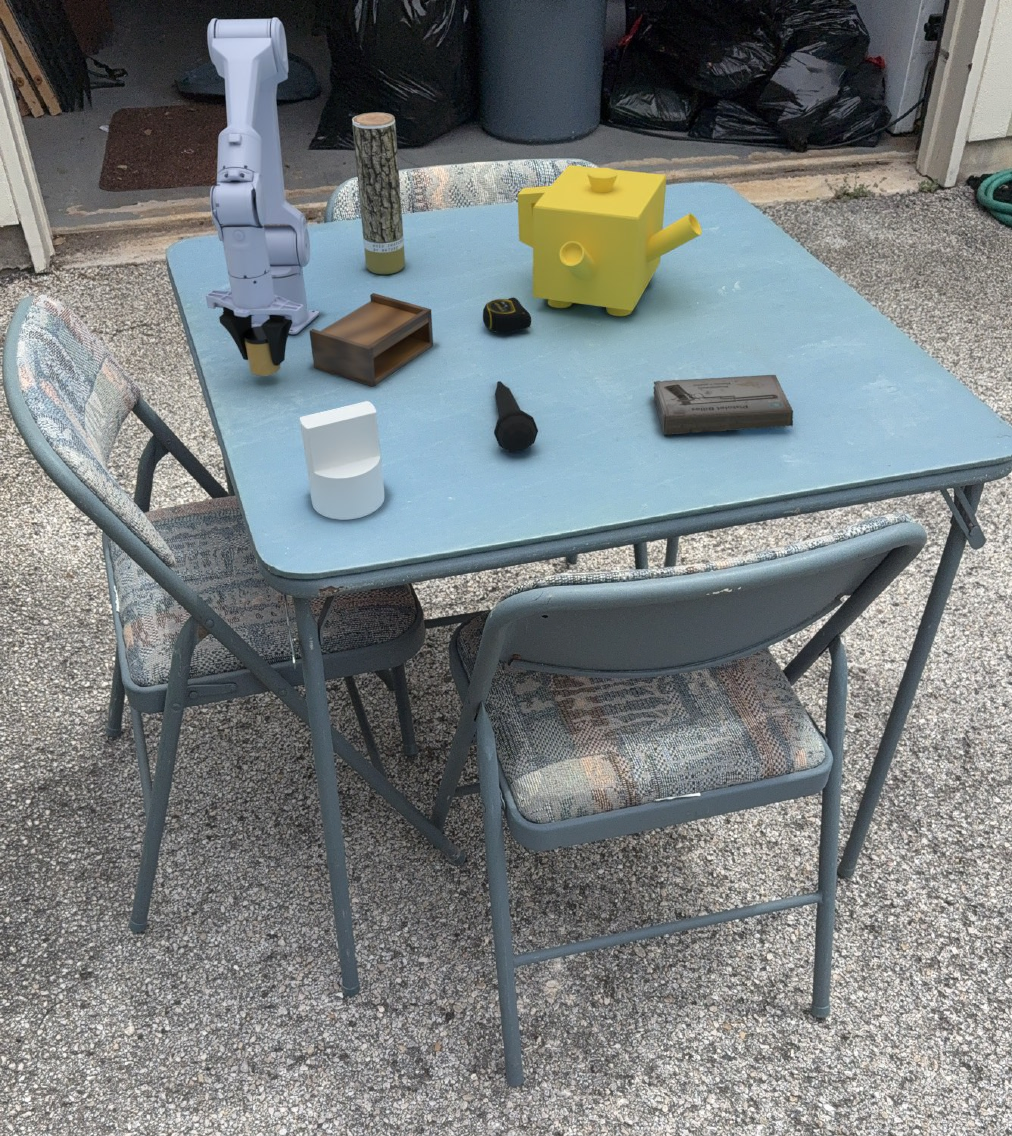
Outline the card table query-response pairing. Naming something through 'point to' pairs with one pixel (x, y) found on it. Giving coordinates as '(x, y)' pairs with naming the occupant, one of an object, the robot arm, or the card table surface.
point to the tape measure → (505, 316)
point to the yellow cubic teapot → (598, 236)
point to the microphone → (513, 422)
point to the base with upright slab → (344, 461)
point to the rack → (373, 340)
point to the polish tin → (259, 352)
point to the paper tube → (379, 191)
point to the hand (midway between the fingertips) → (263, 359)
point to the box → (721, 404)
